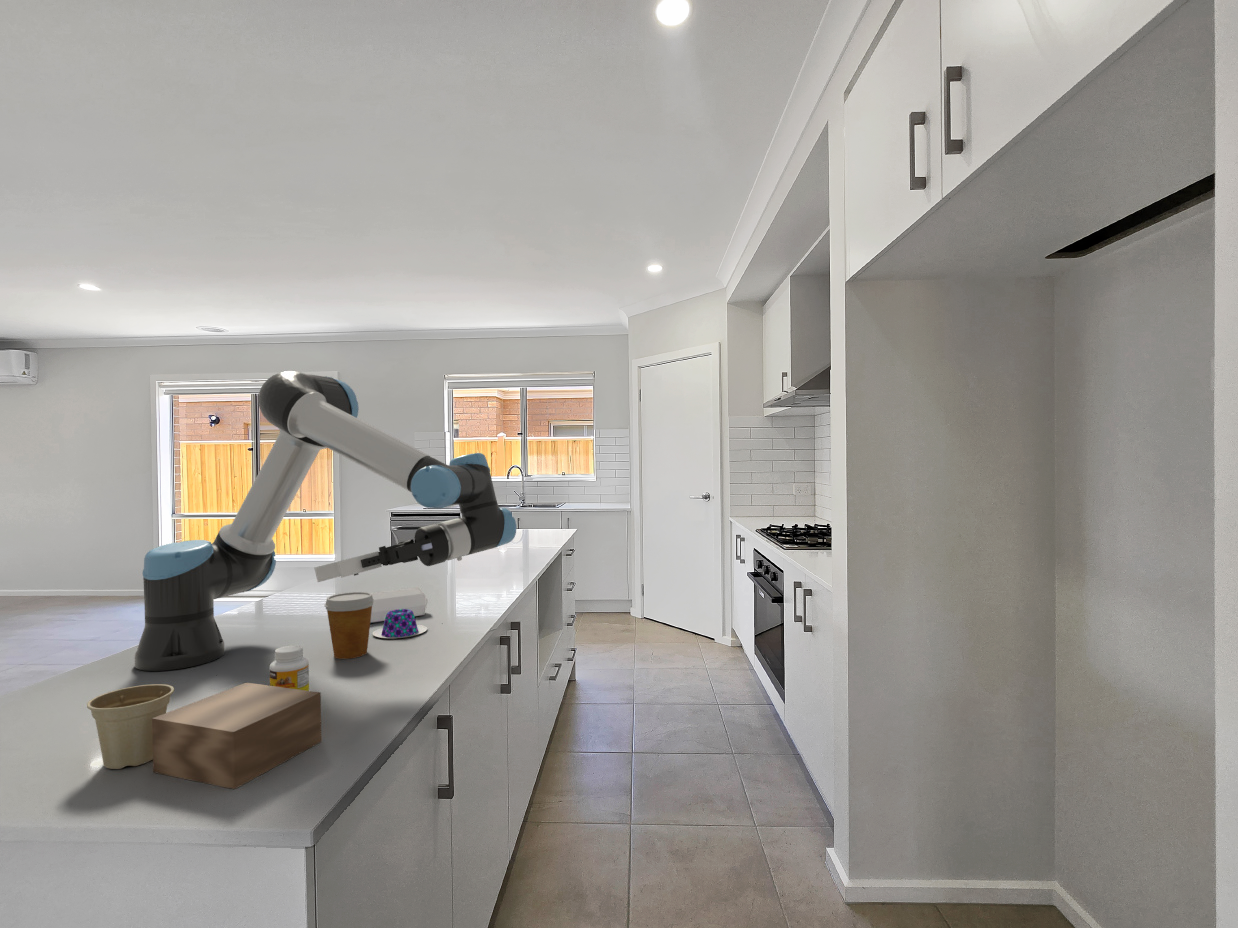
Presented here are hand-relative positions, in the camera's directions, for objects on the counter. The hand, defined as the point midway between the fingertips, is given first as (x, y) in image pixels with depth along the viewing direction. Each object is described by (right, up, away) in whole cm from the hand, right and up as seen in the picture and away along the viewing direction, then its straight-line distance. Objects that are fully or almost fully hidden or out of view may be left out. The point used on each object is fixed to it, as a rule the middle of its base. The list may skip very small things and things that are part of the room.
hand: (327, 572), depth 112 cm
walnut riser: (-1, -21, -23) cm, 31 cm away
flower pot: (-16, -22, -24) cm, 36 cm away
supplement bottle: (-2, -21, -8) cm, 23 cm away
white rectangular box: (-10, -21, +52) cm, 57 cm away
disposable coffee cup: (-5, -21, +23) cm, 31 cm away
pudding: (-1, -21, +39) cm, 44 cm away
